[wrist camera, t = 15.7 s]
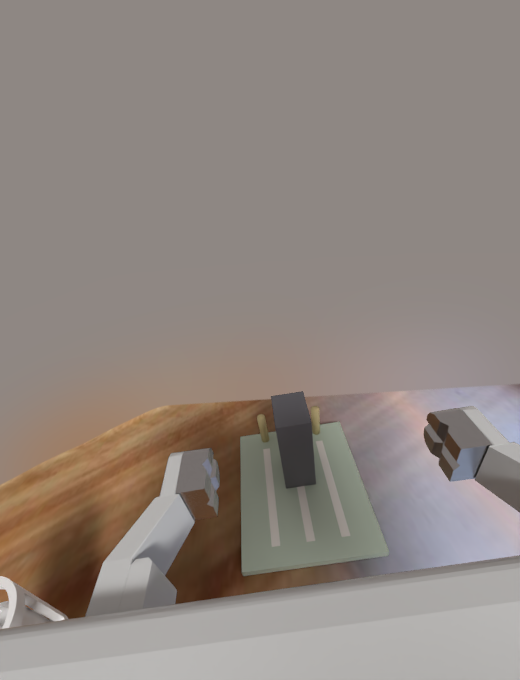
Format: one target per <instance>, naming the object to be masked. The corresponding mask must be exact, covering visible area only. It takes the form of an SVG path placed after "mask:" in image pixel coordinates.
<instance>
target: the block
mask: <svg viewBox="0 0 520 680" xmlns="http://www.w3.org/2000/svg"><path fill="white" fill-rule="evenodd" d="M271 399H272V407H273V414H274V421H275V428H276V434H277V440H278V445H279V451H280V457H281V463H282V468H283V474H284V480H285V485H286V489H287V488H294V487H301V486H307V485H314V484H316V476H315V463H314V449H313V435H312V422H311V419H310V415H309V412H308V408H307V404H306V401H305V397H304V393H303V391H302V392H296V393H290V394H283V395H276V396H271Z"/></svg>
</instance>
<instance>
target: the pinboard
mask: <svg viewBox="0 0 520 680" xmlns="http://www.w3.org/2000/svg"><path fill="white" fill-rule="evenodd" d="M257 420H258V425H259V430H260V434H255V435H249V436H242V437H240V455H241V557H242V574H243V576H248V575H255V574H262V573H269V572H277V571H284V570H291V569H298V568H305V567H312V566H319V565H327V564H334V563H341V562H348V561H355V560H362V559H369V558H377V557H384V556H388V555H389V550H388V547H387V545H386V542H385V540H384V537H383V534H382V532H381V529H380V526H379V524H378V521H377V519H376V516H375V513H374V511H373V508H372V506H371V503H370V500H369V498H368V495H367V492H366V490H365V487H364V485H363V482H362V479H361V477H360V474H359V472H358V469H357V466H356V464H355V461H354V458H353V456H352V453H351V451H350V448H349V445H348V443H347V440H346V438H345V435H344V432H343V430H342V427H341V424H340V422H334V423H328V424H321V425H320V419H319V408H318V407H317V406H313V407H311V420H312V435H313V449H314V463H315V476H316V484H314V485H307V486H301V487H294V488H287V489H286V485H285V480H284V474H283V468H282V463H281V457H280V451H279V445H278V440H277V434H276V431H275V432H268V429H267V424H266V419H265V415H263V414H260V415H258V416H257Z"/></svg>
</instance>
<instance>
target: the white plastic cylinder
mask: <svg viewBox="0 0 520 680" xmlns="http://www.w3.org/2000/svg"><path fill="white" fill-rule="evenodd" d="M0 589H6V591H7V593H8V597H9V602H8V601H5V602H2V603H0V629H4V628H11V627H18V626H25V625H32V624H39V623H46V622H53V621H60V620H67V619H68V617H67V616H66V615H65V614H64V613H62V612H60V611H59V610H57V609H56V608H54V607H52V606H51V605H49V604H48V603H46V602H45V601H43V600H41V599H40V598H38V597H37V596H35V595H33V594H32V593H30V592H29V591H27V590H25V589H24V588H22V587H21V586H19V585H18V584H16V583H14V582H13V581H11V580H10V579H8V578H6V577H2V576H0ZM25 605H27V606H29V607H30V608H32V609H34V610H31V609H29V608H28V607H26V606H25ZM47 618H49V619H47Z"/></svg>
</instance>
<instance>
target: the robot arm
mask: <svg viewBox="0 0 520 680" xmlns="http://www.w3.org/2000/svg"><path fill="white" fill-rule="evenodd" d="M426 420H427V421H428V423H429V424H428V425H427V426H426V427H425V428H424V439H425V442H426V445H427V447H428V449H429V450H430V452H431V453H432V454H433V455H435V456H437V457H438V458H439V466H440V467H441V469H442V470H443V472H444V473H445V475H446V476H447V478H448V479H449V481H458V480H466V479H475V480H476V481H477V482H478V483H480V484H481V485H483V486H484V487H485V488H487V489H488V490H489V491H491V492H492V493H494V494H495V495H496V496H498V497H499V498H500V499H502V500H503V501H505V502H506V503H507V504H509V505H510V506H512V507H513V508H514V509H516V510H517V511H518V512H520V445H519V444H517V443H515V442H512V443H509V442H508V441H507V440H506V438H505V437H504V436H503V435H502V434H501V433H500V432H499V431H498V430H497V429H496V428H495V427H494V426H493V425H492V424H491V423H490V422H489V421H488V420H487V419H486V417H485V416H484V415H483V414H482V413H481V412H480V411H479V410H478V409H477V408H475V407H474V406H468V407H462V408H454V409H448V410H442V411H437V412H431V413H429V414H428V416H427V419H426ZM213 454H214V453H213V451H212V449H211V448H207V449H199V450H191V451H184V452H177V453H171V454H170V456H169V458H168V462H167V466H166V471H165V475H164V479H163V484H162V488H161V492H160V497H155V499H154V500H153V501H152V502H151V504H150V505H149V506H148V507H147V509H146V510H145V511H144V512H143V514H142V515H141V516H140V517H139V519H138V520H137V521H136V522H135V524H134V525H133V526H132V527H131V528H130V530H129V531H128V532H127V533H126V535H125V536H124V537H123V538H122V540H121V541H120V542H119V543H118V545H117V546H116V547H115V548H114V550H113V551H112V552H111V553H110V555H109V556H108V557H107V558H106V560H105V561H104V562H103V564H102V568H101V571H100V574H99V577H98V580H97V583H96V586H95V589H94V592H93V595H92V598H91V601H90V604H89V607H88V610H87V613H86V616H85V617H81V618H74V619H67V620H60V621H53V622H46V623H39V624H32V625H25V626H18V627H11V628H4V629H0V680H520V555H519V556H512V557H505V558H498V559H491V560H484V561H477V562H469V563H462V564H455V565H448V566H441V567H434V568H427V569H420V570H413V571H406V572H399V573H392V574H385V575H377V576H370V577H363V578H356V579H349V580H342V581H335V582H328V583H321V584H314V585H307V586H300V587H293V588H286V589H279V590H271V591H264V592H257V593H250V594H243V595H236V596H229V597H222V598H215V599H208V600H201V601H194V602H187V603H180V604H175V602H176V595H177V590H176V588H175V587H174V585H173V584H172V583H171V582H170V581H169V580H168V579H167V577H166V576H165V575H166V573H167V571H168V569H169V568H170V566H171V564H172V562H173V561H174V559H175V557H176V555H177V553H178V552H179V550H180V548H181V546H182V544H183V543H184V541H185V539H186V537H187V536H188V534H189V532H190V530H191V528H192V527H193V525H194V523H195V520H201V519H206V518H212V517H218V502H219V497H218V495H217V493H216V490H217V489H218V487H219V484H220V475H219V467H218V463H217V461H216V460H215V459H213Z"/></svg>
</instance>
